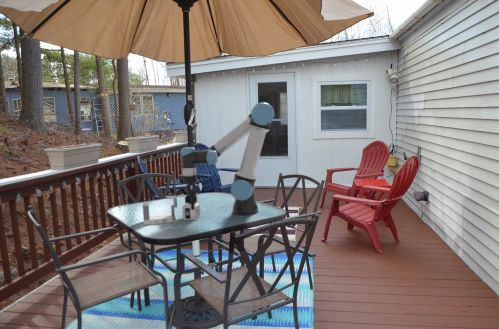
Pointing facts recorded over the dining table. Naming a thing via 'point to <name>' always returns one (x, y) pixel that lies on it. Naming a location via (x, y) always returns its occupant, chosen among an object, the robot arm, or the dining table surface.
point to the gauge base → (155, 216)
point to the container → (187, 209)
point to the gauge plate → (173, 206)
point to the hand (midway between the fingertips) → (191, 212)
